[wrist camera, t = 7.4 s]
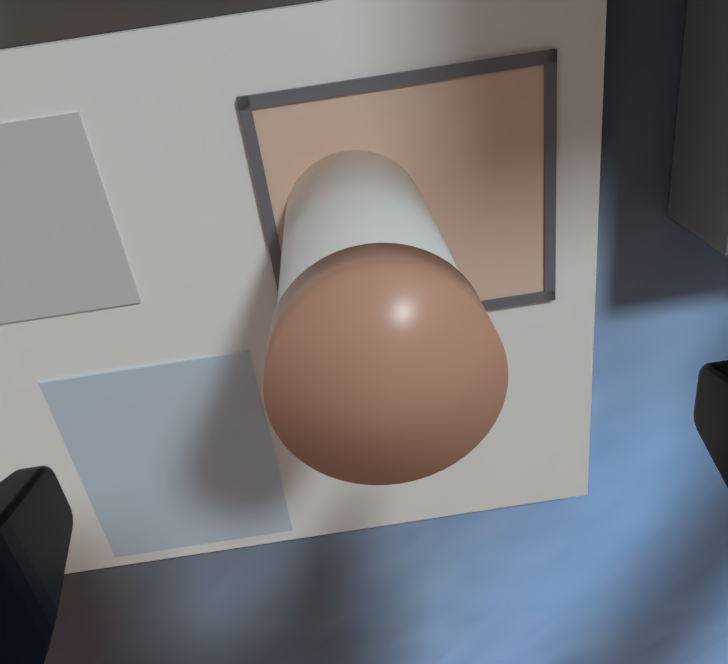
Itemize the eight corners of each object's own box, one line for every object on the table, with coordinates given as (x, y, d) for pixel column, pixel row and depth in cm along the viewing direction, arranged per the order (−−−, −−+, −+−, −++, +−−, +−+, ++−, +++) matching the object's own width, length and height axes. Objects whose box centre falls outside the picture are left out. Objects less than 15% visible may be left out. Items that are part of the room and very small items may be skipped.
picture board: (595, -41, 16) (611, -41, 15) (579, 478, 23) (589, 497, 23) (-250, 87, 16) (-281, 94, 15) (12, 564, 23) (1, 587, 23)
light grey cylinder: (421, 134, 16) (504, 259, 9) (433, 275, 18) (511, 466, 11) (267, 158, 16) (238, 300, 9) (295, 296, 18) (288, 500, 11)
